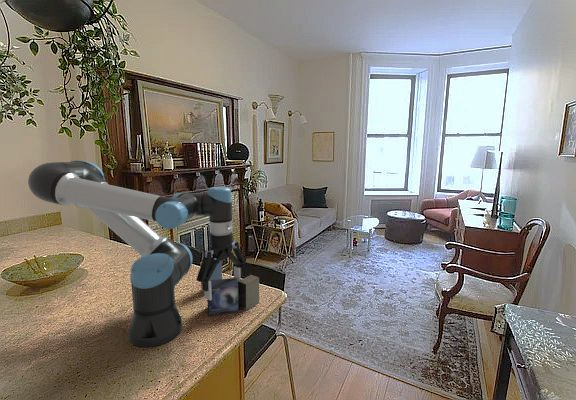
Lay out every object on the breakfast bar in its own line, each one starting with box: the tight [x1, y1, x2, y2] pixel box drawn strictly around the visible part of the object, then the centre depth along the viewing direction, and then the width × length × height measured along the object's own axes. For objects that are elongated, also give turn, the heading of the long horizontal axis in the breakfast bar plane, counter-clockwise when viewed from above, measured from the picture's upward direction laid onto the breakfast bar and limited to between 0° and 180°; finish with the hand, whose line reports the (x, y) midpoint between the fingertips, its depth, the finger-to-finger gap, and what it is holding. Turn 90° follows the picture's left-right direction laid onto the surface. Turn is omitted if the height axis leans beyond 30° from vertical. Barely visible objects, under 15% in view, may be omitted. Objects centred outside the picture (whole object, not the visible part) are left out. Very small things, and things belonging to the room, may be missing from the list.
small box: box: [206, 277, 239, 317], centre depth 104 cm, size 11×6×10 cm, turn 105°
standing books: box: [199, 258, 223, 293], centre depth 119 cm, size 7×5×13 cm, turn 145°
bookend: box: [238, 274, 260, 312], centre depth 107 cm, size 7×4×10 cm, turn 145°
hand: (223, 291), depth 103 cm, fingers open, 13 cm apart
